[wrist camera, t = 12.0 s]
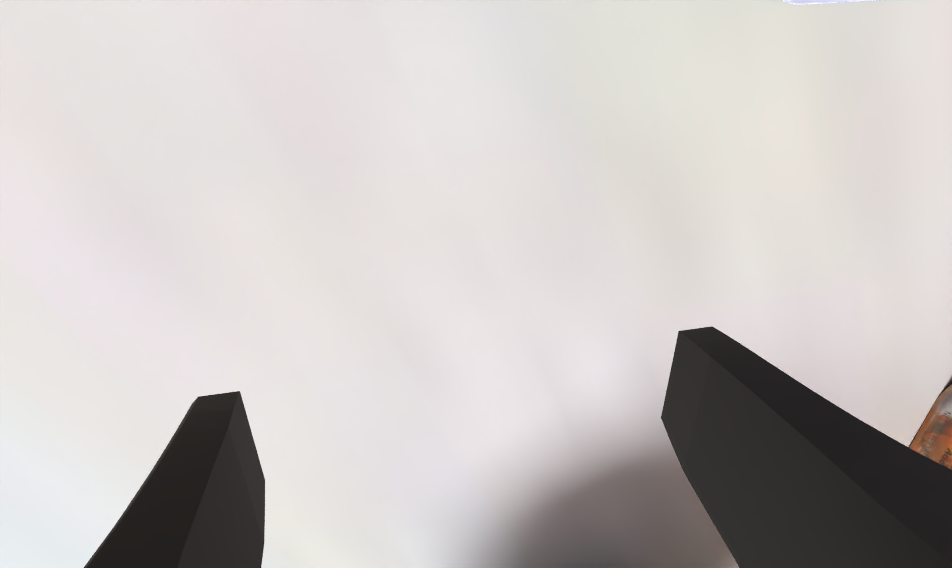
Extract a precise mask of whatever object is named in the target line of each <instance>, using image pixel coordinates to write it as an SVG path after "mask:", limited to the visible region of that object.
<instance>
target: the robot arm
mask: <svg viewBox="0 0 952 568" xmlns="http://www.w3.org/2000/svg"><path fill="white" fill-rule="evenodd" d="M782 1H784V2H786V3H789V4H794V5H803V4H821V3H839V2H856V1H874V0H782ZM661 419H662V421H663V424H664V426H665V429H666V431H667V434H668V436H669V439H670V441H671V443H672V446H673V448H674V451H675V453H676V455H677V457H678V460H679V462H680V464H681V466H682V469H683V471H684V473H685V474H686V476H687V478H688V480H689V482H690V483H691V485H692V487H693V489H694V490H695V492H696V494H697V495H698V497H699V499H700V501H701V502H702V504H703V506H704V508H705V509H706V511H707V513H708V514H709V516H710V518H711V519H712V521H713V523H714V525H715V526H716V528H717V530H718V531H719V533H720V535H721V536H722V538H723V540H724V542H725V543H726V545H727V547H728V548H729V550H730V552H731V553H732V555H733V557H734V558H735V560H736V562H737V564H738V565H739V567H740V568H952V470H951V469H949V468H947V467H945V466H943V465H941V464H939V463H937V462H935V461H933V460H931V459H929V458H927V457H925V456H923V455H922V454H920V453H918V452H916V451H914V450H912V449H910V448H908V447H907V446H905V445H903V444H901V443H899V442H898V441H896V440H894V439H892V438H891V437H889V436H887V435H885V434H884V433H882V432H880V431H878V430H877V429H875V428H873V427H871V426H870V425H868V424H866V423H864V422H863V421H861V420H859V419H857V418H856V417H854V416H853V415H851V414H849V413H848V412H846V411H844V410H843V409H841V408H839V407H838V406H836V405H834V404H833V403H831V402H830V401H828V400H826V399H825V398H823V397H822V396H820V395H818V394H817V393H815V392H814V391H812V390H811V389H809V388H807V387H806V386H804V385H803V384H801V383H800V382H798V381H796V380H795V379H793V378H792V377H790V376H789V375H787V374H786V373H784V372H783V371H781V370H780V369H778V368H777V367H775V366H773V365H772V364H770V363H769V362H767V361H766V360H764V359H763V358H761V357H760V356H758V355H757V354H755V353H754V352H752V351H751V350H749V349H748V348H746V347H744V346H743V345H741V344H740V343H738V342H737V341H735V340H734V339H732V338H730V337H729V336H727V335H726V334H724V333H722V332H721V331H719V330H717V329H715V328H714V327H705V328H698V329H691V330H683V331H679V333H678V338H677V342H676V347H675V352H674V357H673V362H672V367H671V372H670V377H669V382H668V387H667V391H666V396H665V401H664V406H663V411H662V416H661ZM264 524H265V479H264V475H263V472H262V468H261V465H260V461H259V458H258V454H257V450H256V447H255V443H254V440H253V436H252V433H251V429H250V426H249V422H248V419H247V415H246V411H245V408H244V404H243V401H242V397H241V394H240V391H237V392H230V393H223V394H215V395H208V396H201V397H198V398H197V399H196V400H195V401H194V402H193V403H192V405H191V407H190V408H189V410H188V412H187V414H186V415H185V417H184V419H183V420H182V422H181V424H180V425H179V427H178V429H177V430H176V432H175V434H174V435H173V437H172V439H171V440H170V442H169V444H168V445H167V447H166V449H165V450H164V452H163V453H162V455H161V457H160V458H159V460H158V461H157V463H156V465H155V466H154V468H153V469H152V471H151V472H150V474H149V476H148V477H147V479H146V480H145V482H144V483H143V485H142V486H141V488H140V489H139V491H138V492H137V494H136V495H135V497H134V498H133V500H132V501H131V503H130V504H129V506H128V507H127V509H126V510H125V512H124V513H123V515H122V516H121V517H120V519H119V520H118V522H117V523H116V525H115V526H114V527H113V529H112V530H111V532H110V533H109V534H108V536H107V537H106V538H105V540H104V541H103V542H102V544H101V545H100V546H99V548H98V549H97V551H96V552H95V553H94V555H93V556H92V557H91V559H90V560H89V561H88V563H87V564H86V565H85V567H84V568H261V564H262V556H263V548H264Z"/></svg>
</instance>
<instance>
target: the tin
mask: <svg viewBox="0 0 952 568" xmlns="http://www.w3.org/2000/svg"><path fill="white" fill-rule="evenodd" d="M909 448H910V449H912V450H914V451H916V452H918V453H920V454H922V455H923V456H925V457H927V458H929V459H931V460H933V461H935V462H937V463H939V464H941V465H943V466H945V467H947V468H949V469H951V470H952V384H951V385H950V386H949V387H948V388H946V389H945V390H944V391H943V392H942V393H941V395H940V396H939V397H938V398H937V400H936V401H935V403H934V404H933V406H932V408H931V410H930V412H929V413H928V415H927V417H926V419H925V420H924V422H923V424H922V426H921V428H920V429H919V431H918V433H917V435H916V436H915V438H914V440H913V442H912V444H911V445H910V447H909Z"/></svg>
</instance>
